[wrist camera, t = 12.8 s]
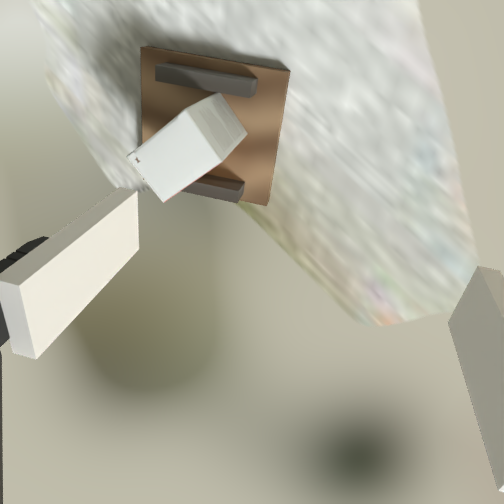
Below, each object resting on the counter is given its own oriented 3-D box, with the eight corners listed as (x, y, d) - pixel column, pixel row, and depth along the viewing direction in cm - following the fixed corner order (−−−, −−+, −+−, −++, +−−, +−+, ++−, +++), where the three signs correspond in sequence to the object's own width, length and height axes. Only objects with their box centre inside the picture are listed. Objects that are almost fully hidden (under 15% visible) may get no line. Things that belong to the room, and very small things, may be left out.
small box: (197, 170, 48) (161, 205, 39) (167, 130, 46) (123, 157, 37) (250, 133, 44) (223, 163, 35) (220, 89, 42) (184, 108, 34)
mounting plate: (146, 46, 43) (126, 48, 40) (290, 70, 41) (283, 76, 38) (148, 175, 51) (131, 188, 47) (268, 201, 49) (261, 216, 46)
